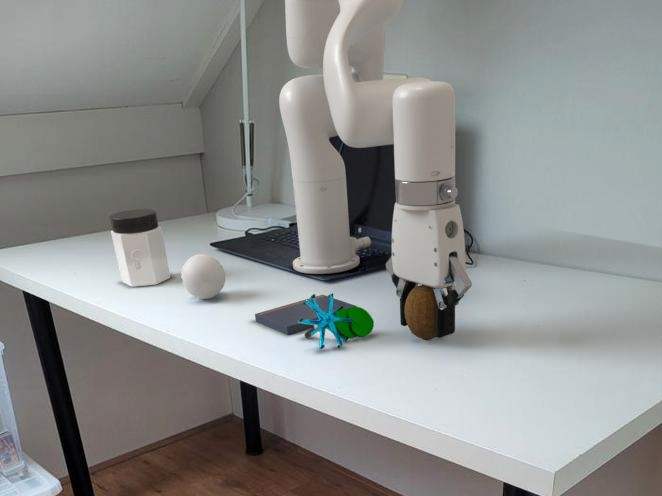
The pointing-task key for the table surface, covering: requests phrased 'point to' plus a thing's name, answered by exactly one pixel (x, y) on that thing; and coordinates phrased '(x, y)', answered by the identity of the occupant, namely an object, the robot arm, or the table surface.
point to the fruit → (421, 312)
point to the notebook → (296, 314)
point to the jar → (139, 247)
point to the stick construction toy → (339, 322)
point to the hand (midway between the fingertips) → (427, 328)
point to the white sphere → (203, 276)
